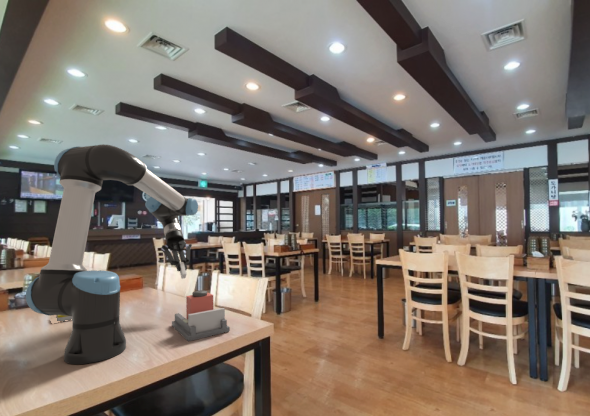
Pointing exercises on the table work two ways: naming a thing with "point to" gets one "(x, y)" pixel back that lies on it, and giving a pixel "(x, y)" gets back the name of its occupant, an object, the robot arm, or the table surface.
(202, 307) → the block
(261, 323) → the table surface
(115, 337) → the robot arm
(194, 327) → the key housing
